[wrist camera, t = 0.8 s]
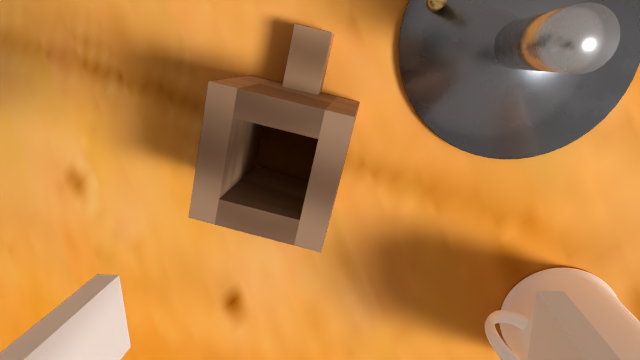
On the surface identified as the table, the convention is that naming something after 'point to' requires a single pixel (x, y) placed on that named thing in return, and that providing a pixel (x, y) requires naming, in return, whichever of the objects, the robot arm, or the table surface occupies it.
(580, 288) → the mug
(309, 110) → the collar
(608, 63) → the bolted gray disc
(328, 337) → the table surface
